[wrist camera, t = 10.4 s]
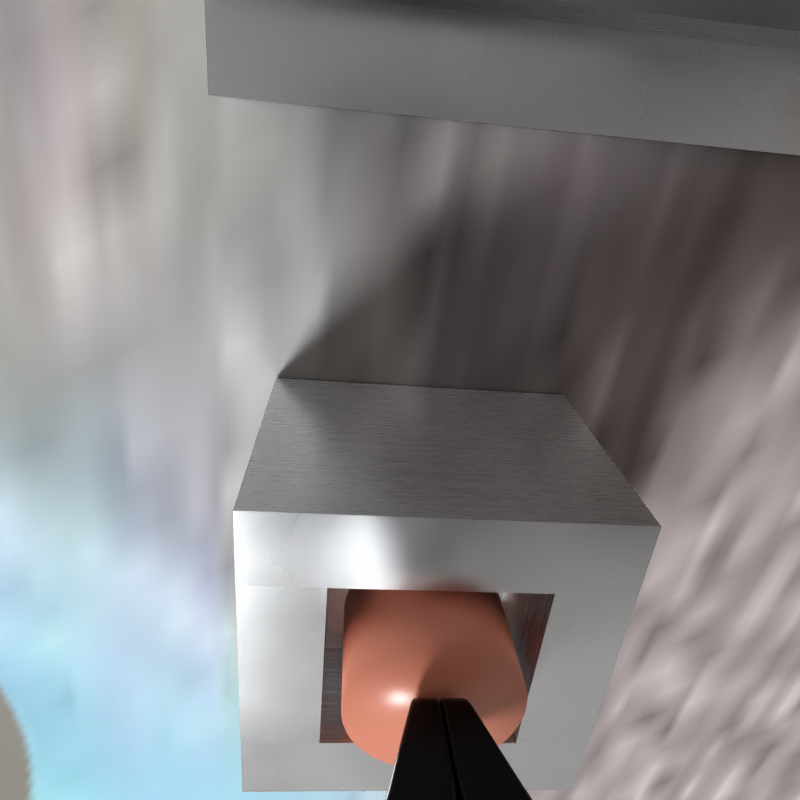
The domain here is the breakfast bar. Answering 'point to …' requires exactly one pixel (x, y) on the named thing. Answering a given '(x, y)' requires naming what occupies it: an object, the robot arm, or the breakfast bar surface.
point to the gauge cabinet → (427, 561)
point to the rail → (527, 63)
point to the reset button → (425, 662)
